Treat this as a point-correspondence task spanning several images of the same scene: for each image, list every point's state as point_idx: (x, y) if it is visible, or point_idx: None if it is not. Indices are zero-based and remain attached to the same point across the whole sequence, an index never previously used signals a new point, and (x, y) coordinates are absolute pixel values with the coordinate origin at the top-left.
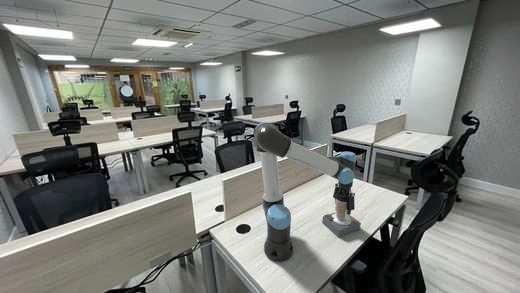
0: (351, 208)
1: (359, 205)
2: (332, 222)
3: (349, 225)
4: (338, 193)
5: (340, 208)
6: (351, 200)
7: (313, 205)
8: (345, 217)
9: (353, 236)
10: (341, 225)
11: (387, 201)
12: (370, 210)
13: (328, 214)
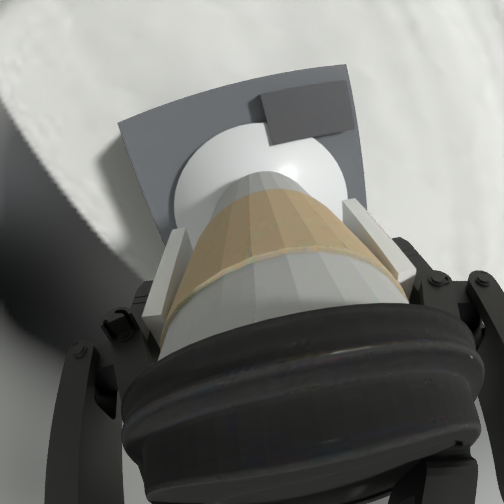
0: (68, 374)
1: None
2: (231, 105)
3: None
4: (440, 445)
5: (208, 244)
6: (54, 492)
7: (494, 133)
8: (172, 238)
9: (149, 220)
10: (177, 169)
11: None
12: None
13: (347, 122)
